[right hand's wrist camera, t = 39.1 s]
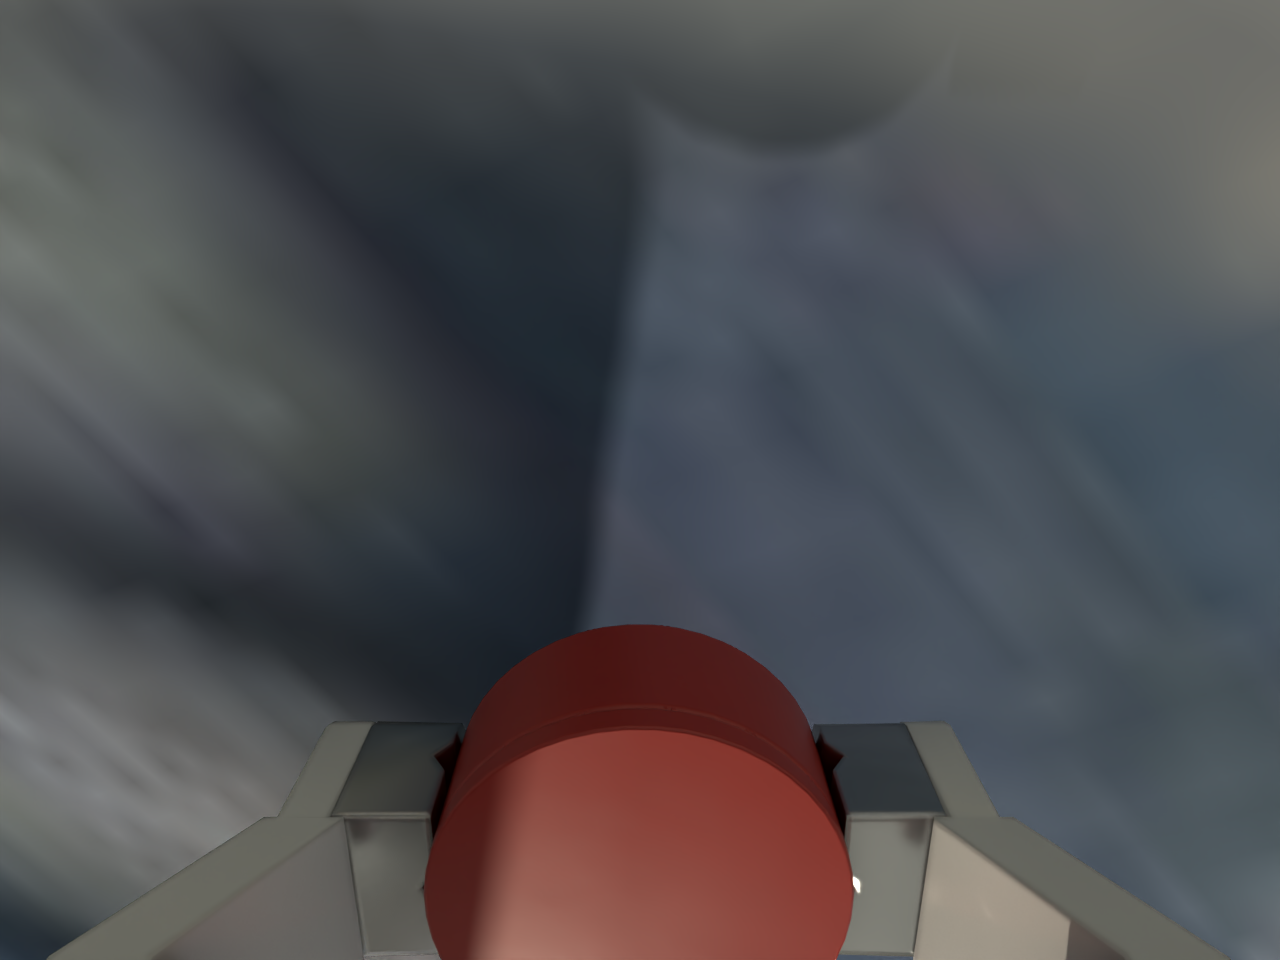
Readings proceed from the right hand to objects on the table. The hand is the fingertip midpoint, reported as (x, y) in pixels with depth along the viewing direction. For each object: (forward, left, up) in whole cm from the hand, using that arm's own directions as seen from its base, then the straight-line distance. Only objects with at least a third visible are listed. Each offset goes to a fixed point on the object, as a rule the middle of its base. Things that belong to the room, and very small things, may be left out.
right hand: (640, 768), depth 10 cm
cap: (0, 0, +2) cm, 2 cm away
